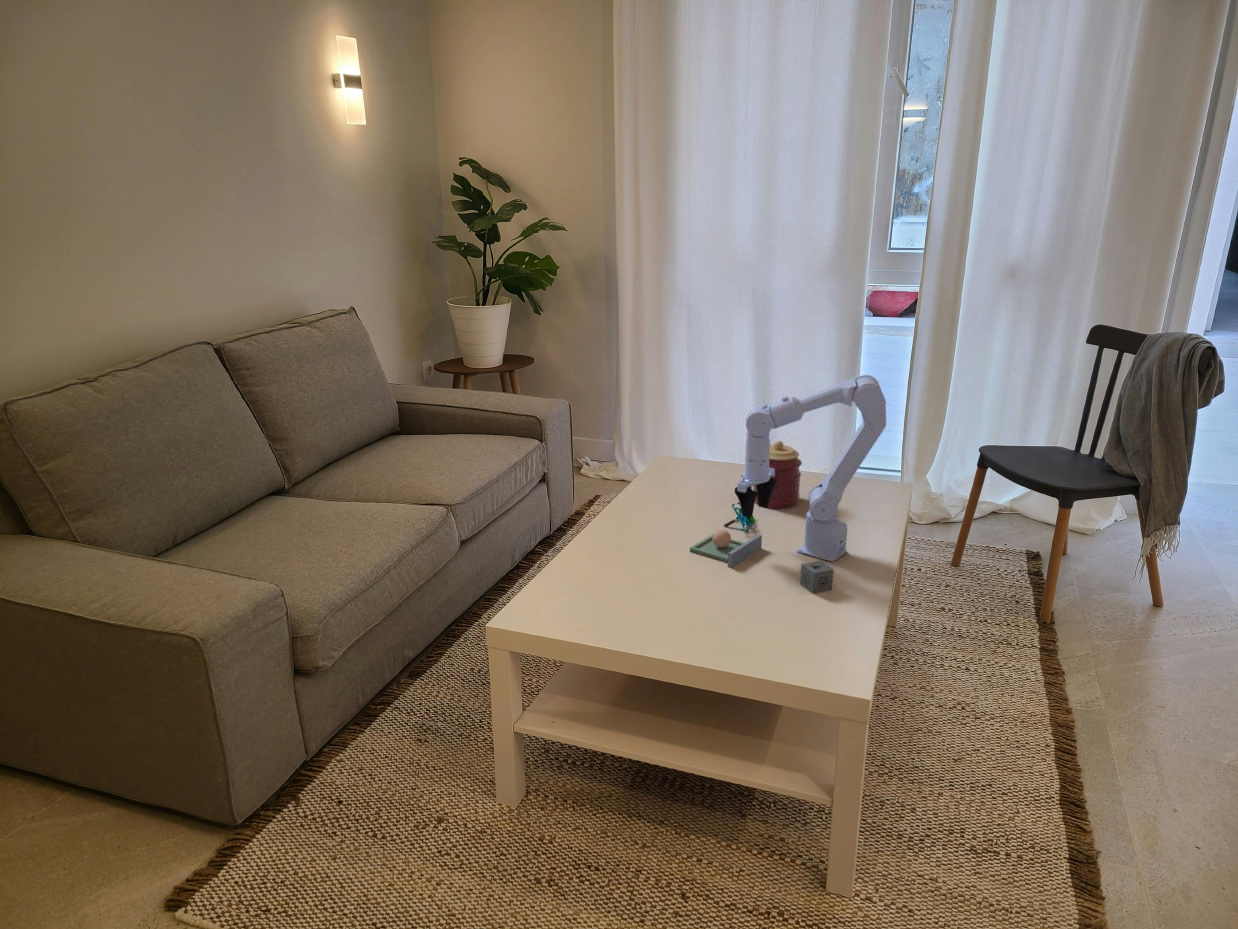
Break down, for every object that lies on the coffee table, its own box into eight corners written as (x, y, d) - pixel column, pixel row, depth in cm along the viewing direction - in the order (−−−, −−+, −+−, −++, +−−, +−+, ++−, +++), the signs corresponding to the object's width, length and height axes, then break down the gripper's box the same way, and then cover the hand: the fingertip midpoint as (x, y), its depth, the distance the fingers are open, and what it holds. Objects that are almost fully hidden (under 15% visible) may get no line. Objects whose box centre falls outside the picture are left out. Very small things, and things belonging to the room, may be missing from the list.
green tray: (749, 548, 211) (750, 544, 211) (727, 562, 203) (727, 558, 203) (713, 537, 217) (713, 534, 217) (689, 551, 209) (689, 547, 209)
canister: (748, 506, 238) (751, 445, 232) (755, 491, 249) (758, 432, 244) (796, 511, 234) (800, 449, 228) (801, 495, 246) (805, 436, 240)
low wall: (761, 548, 211) (761, 535, 210) (731, 567, 201) (731, 553, 199) (757, 547, 212) (758, 534, 210) (727, 566, 201) (728, 552, 200)
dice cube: (800, 584, 192) (801, 564, 191) (819, 580, 194) (820, 560, 192) (812, 593, 188) (813, 573, 186) (831, 590, 190) (833, 569, 188)
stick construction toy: (750, 528, 217) (736, 501, 219) (726, 540, 220) (713, 513, 221) (762, 525, 228) (749, 499, 230) (740, 536, 231) (726, 510, 232)
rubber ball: (732, 549, 211) (736, 532, 210) (723, 550, 207) (726, 532, 207) (716, 545, 213) (720, 527, 213) (707, 545, 210) (711, 527, 209)
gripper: (757, 448, 212) (755, 499, 217) (726, 463, 202) (725, 517, 206) (783, 453, 208) (780, 505, 213) (753, 468, 197) (751, 523, 202)
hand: (755, 511), depth 209 cm, fingers open, 7 cm apart
